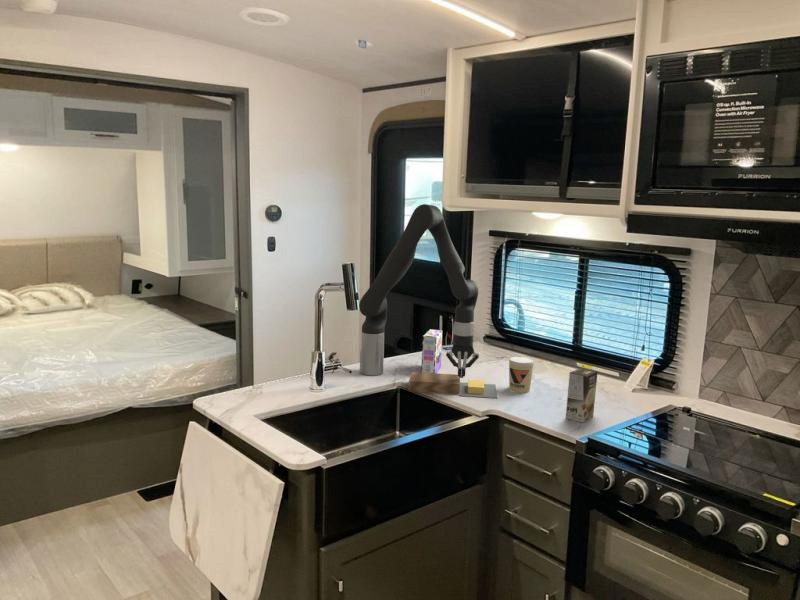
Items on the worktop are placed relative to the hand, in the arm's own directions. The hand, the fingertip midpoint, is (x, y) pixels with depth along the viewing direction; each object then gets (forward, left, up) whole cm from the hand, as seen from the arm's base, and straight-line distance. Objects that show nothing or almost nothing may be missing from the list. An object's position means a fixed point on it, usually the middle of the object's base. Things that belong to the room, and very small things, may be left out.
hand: (461, 377), depth 234 cm
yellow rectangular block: (+6, 0, -2) cm, 6 cm away
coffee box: (+40, -22, -5) cm, 46 cm away
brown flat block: (-10, 0, -5) cm, 11 cm away
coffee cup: (+22, +4, -5) cm, 23 cm away
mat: (+6, 0, -5) cm, 8 cm away
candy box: (-13, +23, -5) cm, 27 cm away
